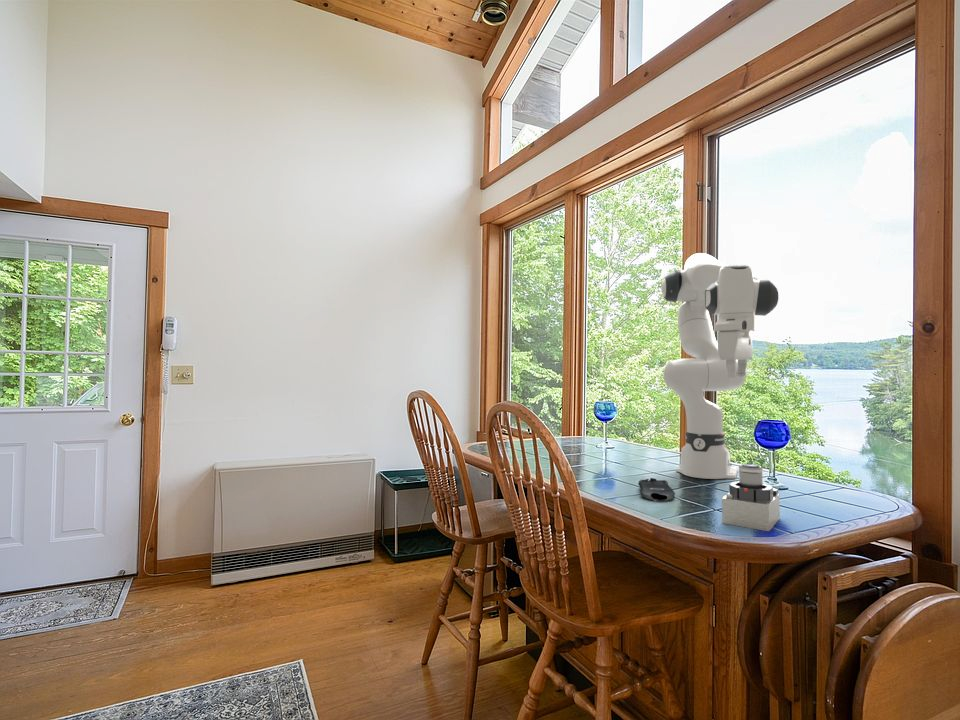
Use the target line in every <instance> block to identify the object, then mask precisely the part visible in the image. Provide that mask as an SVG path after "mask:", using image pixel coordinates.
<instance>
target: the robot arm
mask: <svg viewBox="0 0 960 720" xmlns="http://www.w3.org/2000/svg"><path fill="white" fill-rule="evenodd" d="M660 289H661V293H662V296H663V298H664V300H665V301H666V302H672V303H676V302H681V304H680V306H679V307H678V312H677V325H678V326H677V327H678V333H679V339H680V345H681V348H682V349H683V352H685V353H686V354H687V355H689V356H690V357H693V358H680V359H674V360H671V361H668V363H666V365H665V367H664V369H663V375H662V376H663V380H664V382H665V385H666V386H667V387H668V388H669V389H670V390H671V391H673V392H674V393H675V394H677V395H678V397H679V398H680V400H681V401H682V404H683V407H684V409H685V416H686V432H685V436H684V439H685V445H684V446H683V447H681V452H680V453H681V454H680V467H677V468H676V472H678V473H681V474H682V475H685V476H687V477H690V478H697V479H706V480H707V479H709V480H719V479H720V480H721V479H736V477H737V474H738V472H739V469H738V467H736V466H732V462H731V453H730V452H729V450H728V448H727V447H726V445H725V444H726V433H725V432H724V430H723V423H724V421H723V410H722V408H721V407H720V405H717V404H716V403H713V402H711V401H709V400H708V399H706V398H705V395H704V392H727V391H732V390H736V389H737V390H738V389H740V388H742V386H743V385H744V384H745V381H746V378H747V366H748V360H752V359H753V355H754V353H753V351H754V349H753V348H754V347H753V338H752V333H751V332H755V331H756V316H764V317H765V316H767V315H768V314H770V313H771V312H772V311H773V310H774V309H775V308H776V307H777V306H778V303H779V290H778V288H777V286H776V285H775V284H774V283H773V282H772V281H771V280H769V279H767V278H766V279H759V278H757V277H755V276H754V274H753V270H752V267H751V266H749V265H747V264H740V265H739V264H736V265H735V264H734V265H733V264H732V265H731V264H730V265H727V264H725V263H723V262H721V261H720V260H718V259H717V258H715V257H714V256H712V255H710V254H708V253H704V252H703V253H702V252H699V253H694V254H692V255H691V256H690V257H688V258H687V259H686V261H685V264H684V268H683V270H678V268H677V269H675V270H674V271H672V272H669V273H667V274H666V275H665V276H664V277H663V279H662V282H661V287H660ZM710 314H711V315H714V316H715V315H716V316H717V319H718V320H717V321H716V322H715V326H714V327H713V324H712V320H711V316H710ZM713 328H714V329H713ZM714 331H715V332H717V335H716V336H717V339H716V336H715V332H714Z"/></svg>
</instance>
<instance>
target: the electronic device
mask: <svg viewBox="0 0 960 720" xmlns="http://www.w3.org/2000/svg"><path fill="white" fill-rule="evenodd" d="M637 485H638V486H639V488H640V496H641V497H642V498H643V499H644V500H645V499H646V500H648V501H653V502H667V501H672V500H673V499H674V498H675V494H676V493H675V491H674V490H673V488H672V487H671V486H670V485H669V482H668V481H667V480H666V479H664V480H661V479H659V480H658V479H657V478H653V477H651V478H646V479H645V478H644V479H639V481H638V483H637ZM652 494H658V496H657V495H652ZM664 496H666V499H665V497H664Z"/></svg>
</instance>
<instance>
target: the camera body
mask: <svg viewBox="0 0 960 720" xmlns="http://www.w3.org/2000/svg"><path fill="white" fill-rule="evenodd" d="M762 483H763V482H762ZM728 485H729V492H727V493H726V494H725V495H724V496H722V498H721V520H722V521H721V523H722V524H723V525H724V524H725V525H729V526H730V525H731V526H737V527H742V528H747V529H752V530H753V529H754V530H759V531H760V530H761V531H763V532H770V531H771V530H772V529H773V528H774V526H775V525H776V524H777V522H779V520H780V518H781V517H780V513H781V512H780V502H781V501H780V493H779V488H774V487H773V486H772V485H770V484H766V483H763V489H749V488H741V487H739V480H738V481H731V483H729V484H728Z"/></svg>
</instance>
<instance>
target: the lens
mask: <svg viewBox="0 0 960 720" xmlns="http://www.w3.org/2000/svg"><path fill="white" fill-rule="evenodd" d="M763 472H764V471H763V466H761V465H759V464H751V463H750V464H748V463H747V464H740V465H738V481H739V487H741V488H749V489H763Z"/></svg>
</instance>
